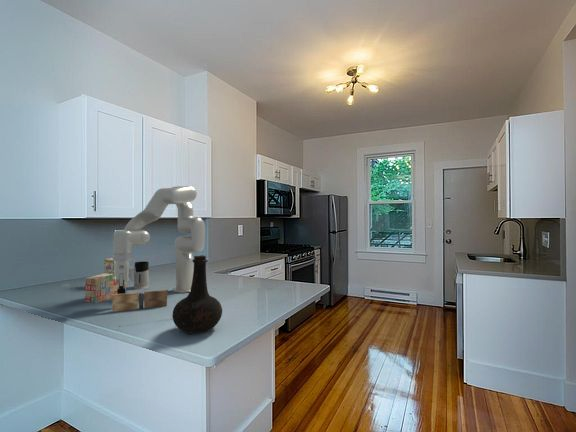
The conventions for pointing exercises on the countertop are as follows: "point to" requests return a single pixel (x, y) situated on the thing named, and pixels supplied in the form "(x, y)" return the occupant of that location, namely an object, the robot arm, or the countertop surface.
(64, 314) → the countertop surface
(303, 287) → the countertop surface
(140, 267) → the white and black mug
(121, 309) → the panel
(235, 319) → the countertop surface
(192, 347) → the countertop surface
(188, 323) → the glass bottle
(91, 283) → the stack of blocks
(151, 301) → the fixed fence panel
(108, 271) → the candy bar box
